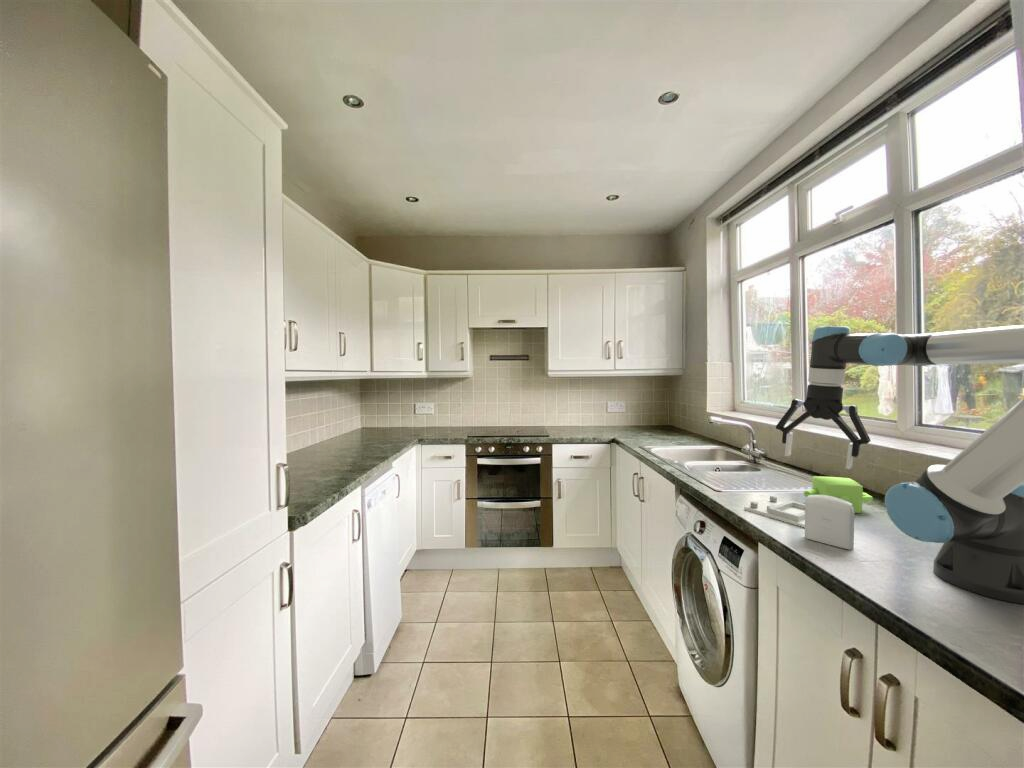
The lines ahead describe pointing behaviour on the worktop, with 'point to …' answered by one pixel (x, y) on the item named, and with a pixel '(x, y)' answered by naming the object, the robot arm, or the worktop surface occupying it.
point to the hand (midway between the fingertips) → (816, 461)
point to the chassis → (780, 510)
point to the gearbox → (840, 490)
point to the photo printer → (829, 521)
